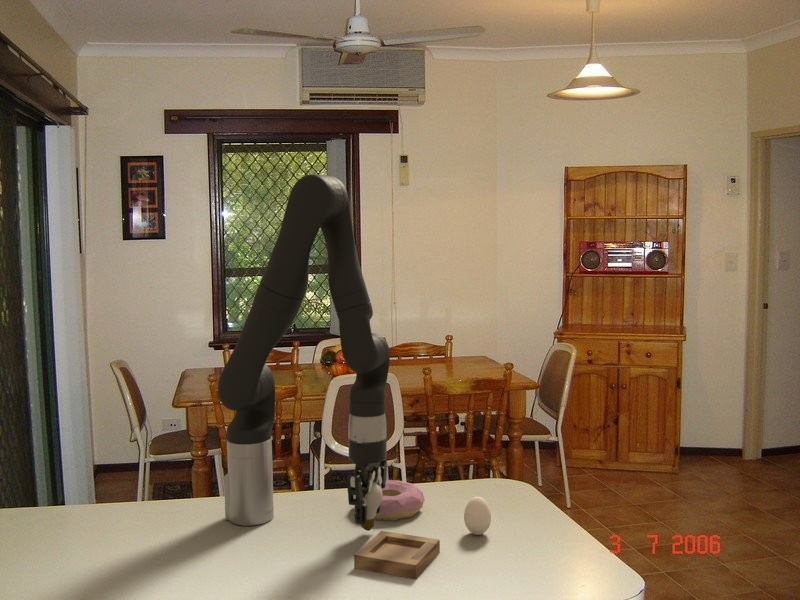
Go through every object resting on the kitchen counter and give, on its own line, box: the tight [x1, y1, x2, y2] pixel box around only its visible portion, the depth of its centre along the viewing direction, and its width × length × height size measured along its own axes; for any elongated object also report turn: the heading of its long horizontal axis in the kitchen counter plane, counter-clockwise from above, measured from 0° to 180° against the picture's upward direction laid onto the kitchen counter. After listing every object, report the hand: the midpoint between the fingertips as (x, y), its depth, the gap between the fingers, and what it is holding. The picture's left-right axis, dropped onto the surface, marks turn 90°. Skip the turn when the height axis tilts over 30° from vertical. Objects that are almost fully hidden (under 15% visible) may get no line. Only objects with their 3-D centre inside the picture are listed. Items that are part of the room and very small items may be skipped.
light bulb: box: [353, 482, 383, 531], centre depth 159 cm, size 6×6×10 cm
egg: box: [463, 496, 492, 536], centre depth 159 cm, size 5×5×8 cm
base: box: [353, 530, 441, 580], centre depth 148 cm, size 12×12×2 cm
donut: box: [375, 479, 426, 521], centre depth 173 cm, size 16×15×5 cm
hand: (367, 517), depth 160 cm, fingers closed on light bulb, 5 cm apart
